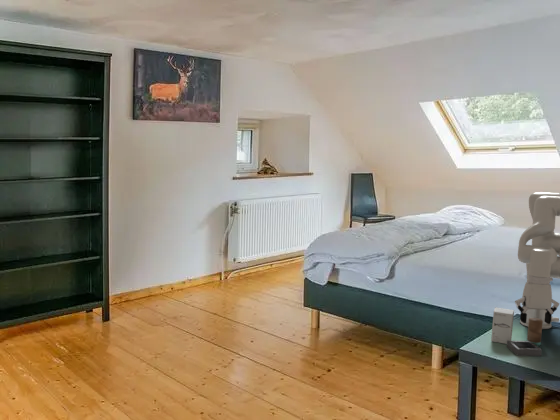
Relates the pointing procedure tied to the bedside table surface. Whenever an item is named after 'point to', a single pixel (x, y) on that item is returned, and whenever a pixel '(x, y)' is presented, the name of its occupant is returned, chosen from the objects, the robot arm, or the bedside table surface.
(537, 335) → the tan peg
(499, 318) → the supplement box
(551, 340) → the bedside table surface
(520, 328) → the bedside table surface
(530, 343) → the socket
